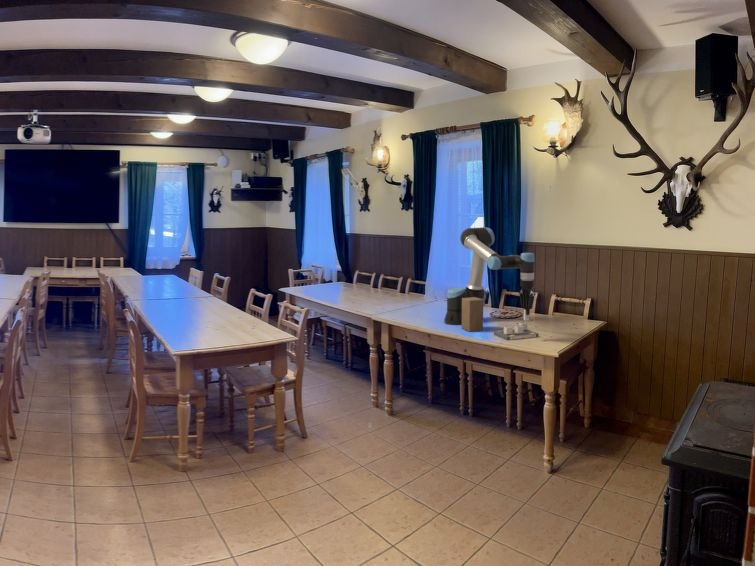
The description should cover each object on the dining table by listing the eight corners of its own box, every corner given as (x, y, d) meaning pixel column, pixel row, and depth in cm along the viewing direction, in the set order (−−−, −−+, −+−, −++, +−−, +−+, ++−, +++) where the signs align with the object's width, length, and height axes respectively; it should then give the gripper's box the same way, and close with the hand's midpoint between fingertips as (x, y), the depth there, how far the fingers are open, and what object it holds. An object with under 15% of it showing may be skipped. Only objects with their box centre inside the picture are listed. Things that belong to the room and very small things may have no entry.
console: (493, 334, 312) (493, 331, 311) (524, 331, 319) (524, 328, 319) (507, 340, 298) (507, 336, 298) (538, 336, 306) (538, 333, 305)
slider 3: (518, 329, 314) (518, 322, 314) (524, 328, 316) (524, 322, 315) (521, 330, 312) (521, 323, 311) (527, 329, 313) (527, 323, 312)
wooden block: (461, 328, 329) (461, 298, 326) (474, 327, 332) (475, 296, 329) (469, 332, 320) (469, 300, 317) (483, 330, 323) (483, 299, 320)
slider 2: (514, 332, 306) (514, 325, 306) (520, 331, 308) (520, 325, 307) (517, 333, 304) (517, 326, 303) (523, 333, 305) (523, 326, 304)
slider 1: (503, 333, 305) (503, 326, 304) (509, 332, 306) (509, 325, 306) (506, 334, 302) (506, 327, 301) (512, 333, 303) (512, 326, 303)
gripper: (514, 278, 300) (514, 318, 303) (528, 281, 288) (527, 322, 291) (525, 278, 302) (524, 317, 305) (539, 280, 290) (538, 321, 293)
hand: (526, 320), depth 298 cm, fingers closed
